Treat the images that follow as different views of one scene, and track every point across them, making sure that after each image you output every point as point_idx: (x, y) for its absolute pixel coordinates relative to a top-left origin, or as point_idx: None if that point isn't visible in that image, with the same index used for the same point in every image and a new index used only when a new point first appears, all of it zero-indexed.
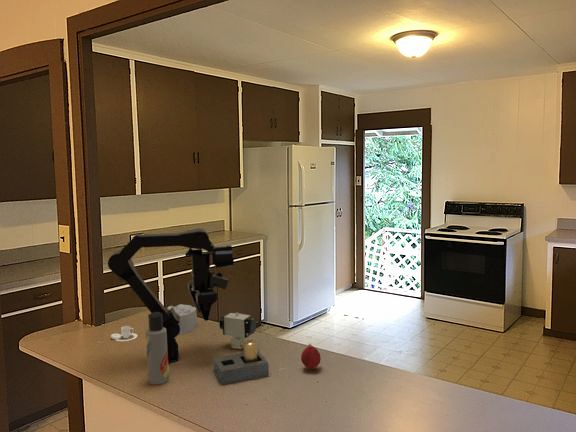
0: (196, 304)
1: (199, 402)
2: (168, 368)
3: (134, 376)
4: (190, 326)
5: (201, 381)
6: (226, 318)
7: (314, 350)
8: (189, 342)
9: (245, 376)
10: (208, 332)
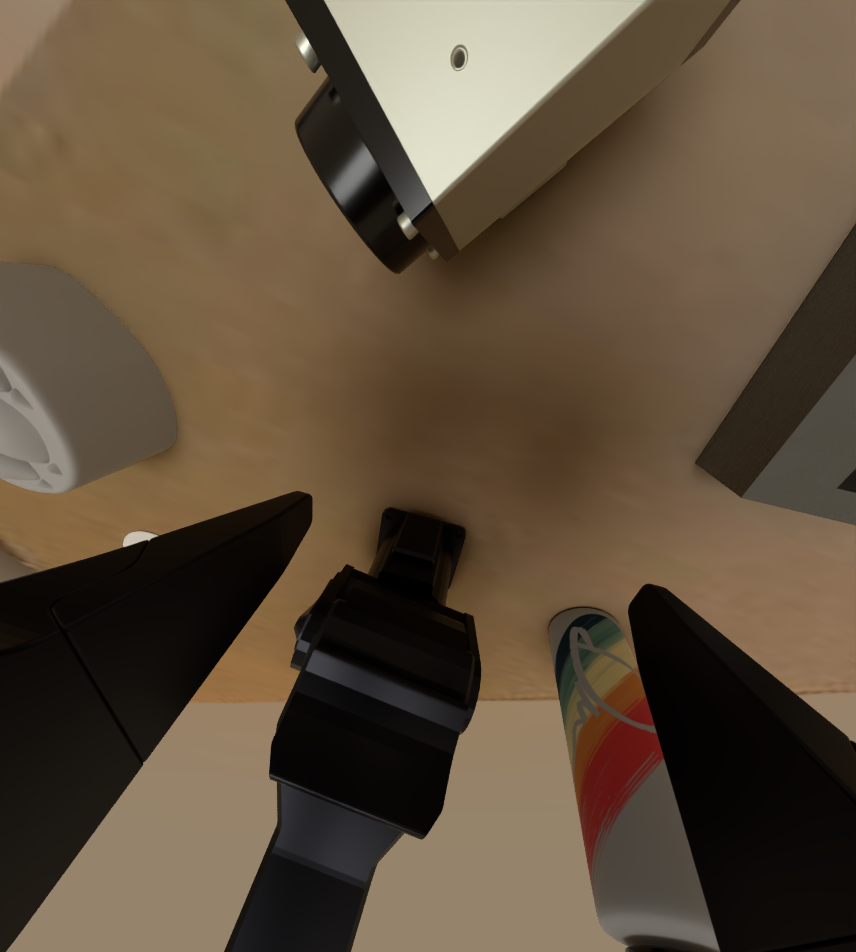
0: (243, 619)
1: None
2: (620, 650)
3: (492, 653)
4: (105, 339)
5: (737, 546)
6: (472, 175)
7: None
8: (284, 406)
9: None
10: (168, 246)
